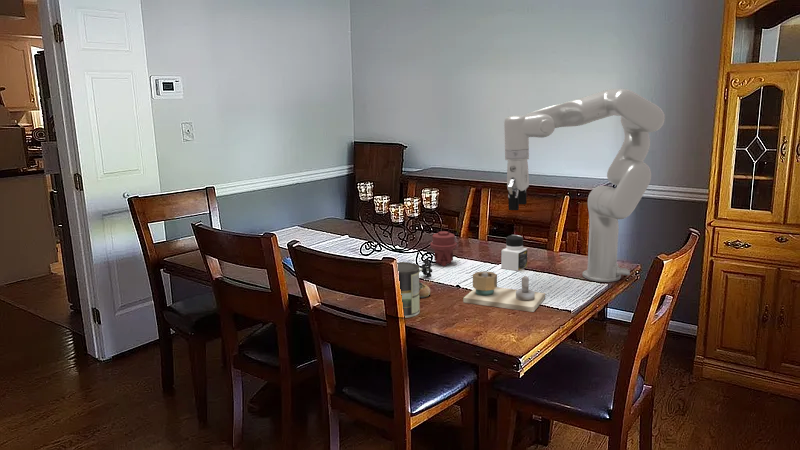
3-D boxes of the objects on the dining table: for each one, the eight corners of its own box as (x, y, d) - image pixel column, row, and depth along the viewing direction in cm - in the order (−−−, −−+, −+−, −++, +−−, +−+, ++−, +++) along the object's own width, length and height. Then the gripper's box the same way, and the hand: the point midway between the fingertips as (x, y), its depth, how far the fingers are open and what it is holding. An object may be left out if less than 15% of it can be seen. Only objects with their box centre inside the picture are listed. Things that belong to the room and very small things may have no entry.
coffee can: (396, 320, 178) (395, 273, 175) (379, 310, 187) (378, 265, 184) (426, 313, 183) (426, 268, 180) (408, 304, 192) (407, 260, 189)
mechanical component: (456, 260, 240) (457, 267, 230) (430, 260, 240) (430, 267, 230) (455, 229, 237) (457, 235, 227) (429, 229, 237) (430, 235, 228)
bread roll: (391, 297, 199) (392, 281, 198) (405, 291, 209) (406, 276, 208) (423, 302, 194) (424, 286, 194) (436, 296, 204) (437, 281, 204)
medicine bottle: (518, 271, 223) (519, 239, 220) (500, 268, 227) (501, 236, 225) (527, 266, 229) (528, 235, 226) (510, 264, 233) (510, 233, 230)
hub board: (545, 297, 194) (545, 271, 193) (533, 312, 182) (534, 284, 180) (478, 289, 204) (478, 264, 202) (463, 302, 192) (463, 276, 190)
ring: (498, 285, 197) (499, 273, 196) (491, 291, 191) (492, 279, 190) (478, 282, 200) (478, 270, 199) (470, 288, 194) (470, 276, 193)
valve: (400, 284, 211) (432, 280, 216) (400, 266, 210) (432, 261, 214) (393, 279, 217) (424, 275, 222) (393, 261, 216) (424, 257, 220)
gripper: (521, 158, 189) (522, 212, 193) (534, 151, 204) (535, 202, 208) (497, 158, 192) (498, 212, 196) (512, 151, 207) (513, 201, 211)
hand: (517, 207), depth 202 cm, fingers open, 9 cm apart
